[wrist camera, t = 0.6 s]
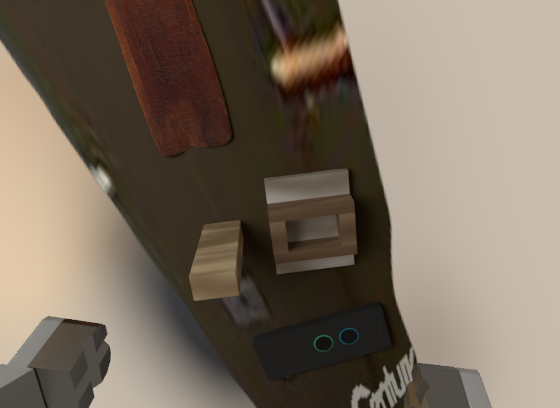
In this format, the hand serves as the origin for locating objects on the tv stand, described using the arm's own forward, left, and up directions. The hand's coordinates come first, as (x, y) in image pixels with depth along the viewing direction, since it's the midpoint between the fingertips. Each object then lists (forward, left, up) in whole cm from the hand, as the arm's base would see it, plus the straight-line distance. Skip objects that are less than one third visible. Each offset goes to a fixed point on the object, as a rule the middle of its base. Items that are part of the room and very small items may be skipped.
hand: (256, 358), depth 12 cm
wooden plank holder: (+17, +5, -47) cm, 50 cm away
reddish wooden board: (-8, -10, -47) cm, 49 cm away
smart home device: (+37, +5, -47) cm, 60 cm away
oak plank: (+17, -7, -47) cm, 50 cm away
